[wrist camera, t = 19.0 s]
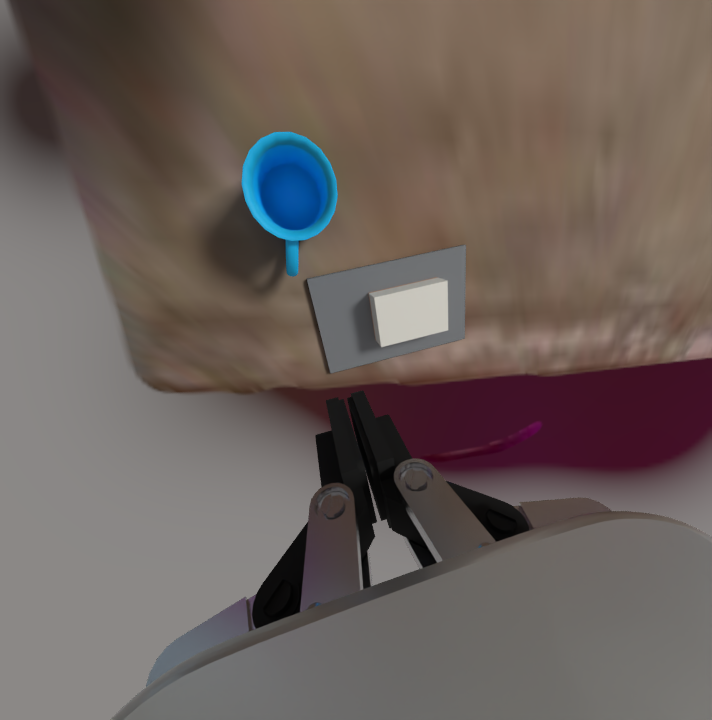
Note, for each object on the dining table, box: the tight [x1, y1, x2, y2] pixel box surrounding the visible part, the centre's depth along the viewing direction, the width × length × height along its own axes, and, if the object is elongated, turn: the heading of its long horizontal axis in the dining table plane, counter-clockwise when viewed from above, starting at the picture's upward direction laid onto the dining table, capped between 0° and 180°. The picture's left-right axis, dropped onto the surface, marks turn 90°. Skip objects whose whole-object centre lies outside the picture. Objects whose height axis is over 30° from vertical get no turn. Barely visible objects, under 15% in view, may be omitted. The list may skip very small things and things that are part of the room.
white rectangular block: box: [368, 277, 448, 347], centre depth 38 cm, size 7×3×10 cm
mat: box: [307, 245, 466, 373], centre depth 39 cm, size 14×22×1 cm, turn 101°
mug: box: [242, 132, 338, 276], centre depth 28 cm, size 12×8×8 cm
